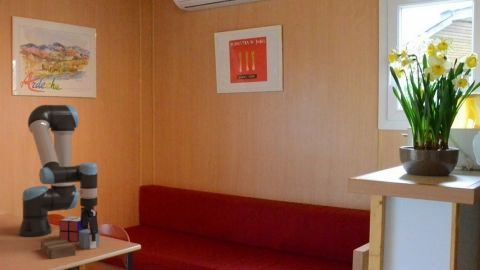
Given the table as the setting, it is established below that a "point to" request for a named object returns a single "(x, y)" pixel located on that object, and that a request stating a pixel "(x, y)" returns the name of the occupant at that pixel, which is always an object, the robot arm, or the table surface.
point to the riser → (57, 248)
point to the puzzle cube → (70, 229)
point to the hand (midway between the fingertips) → (88, 245)
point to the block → (86, 239)
